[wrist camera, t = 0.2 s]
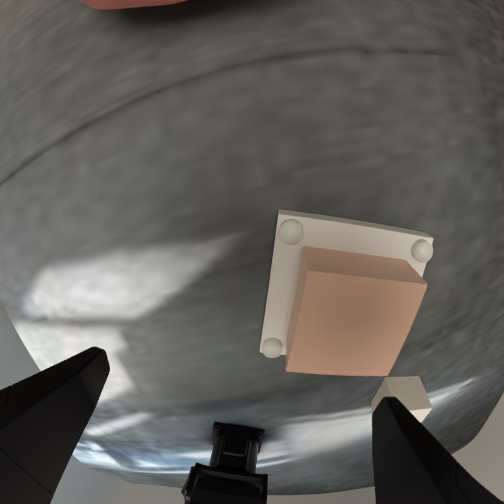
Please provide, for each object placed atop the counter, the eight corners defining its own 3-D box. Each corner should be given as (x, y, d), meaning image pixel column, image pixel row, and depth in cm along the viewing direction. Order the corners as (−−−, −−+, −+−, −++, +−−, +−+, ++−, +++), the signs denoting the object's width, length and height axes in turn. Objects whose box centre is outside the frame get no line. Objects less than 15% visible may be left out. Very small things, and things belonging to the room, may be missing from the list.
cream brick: (402, 401, 27) (412, 432, 22) (370, 402, 27) (378, 436, 22) (418, 375, 25) (432, 407, 20) (385, 376, 25) (396, 411, 21)
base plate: (383, 351, 24) (398, 391, 19) (260, 341, 25) (254, 385, 19) (425, 232, 19) (459, 258, 14) (278, 209, 20) (277, 231, 15)
